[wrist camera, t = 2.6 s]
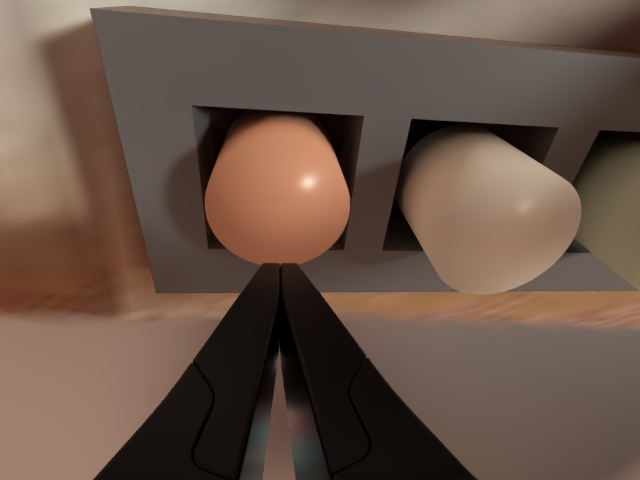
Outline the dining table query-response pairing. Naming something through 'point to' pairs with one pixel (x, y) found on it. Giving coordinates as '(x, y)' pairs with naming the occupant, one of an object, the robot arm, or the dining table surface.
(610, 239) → the pale green egg
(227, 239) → the orange rounded dome
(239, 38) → the egg tray
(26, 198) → the dining table surface
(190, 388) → the robot arm
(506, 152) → the beige domed piece
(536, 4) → the dining table surface
